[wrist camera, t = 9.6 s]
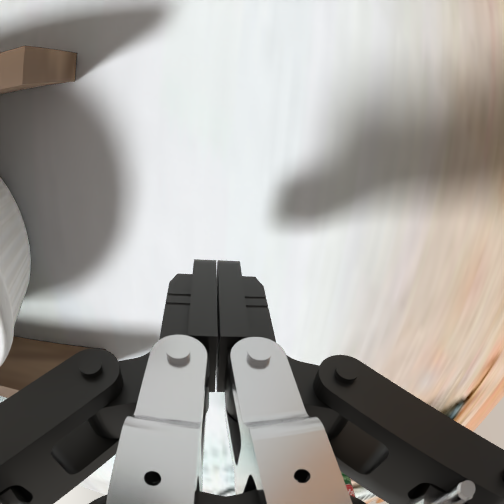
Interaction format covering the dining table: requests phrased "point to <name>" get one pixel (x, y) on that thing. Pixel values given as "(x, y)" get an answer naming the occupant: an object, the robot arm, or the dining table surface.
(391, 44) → the dining table surface
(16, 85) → the walnut bay
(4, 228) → the ramekin
